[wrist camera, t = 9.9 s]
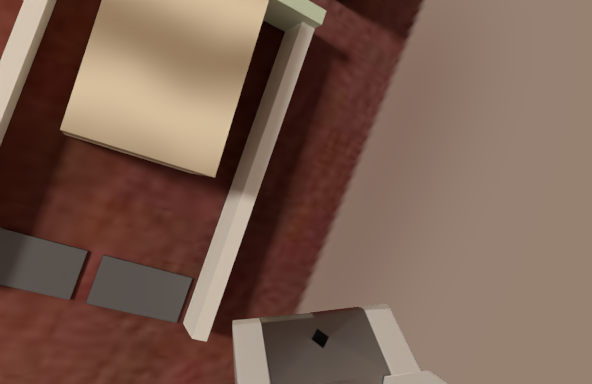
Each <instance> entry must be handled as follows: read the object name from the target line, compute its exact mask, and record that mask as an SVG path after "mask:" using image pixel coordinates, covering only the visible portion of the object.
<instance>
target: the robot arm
mask: <svg viewBox="0 0 592 384" xmlns="http://www.w3.org/2000/svg"><path fill="white" fill-rule="evenodd" d="M232 330H233V352H234V372H235V384H448V383H447V382H445V381H444V380H442V379H441V378H440V377H438V376H437V375H435V374H434V373H432V372H431V371H430V370H427V371H421V369H420V367H419V365H418V363H417V361H416V359H415V357H414V355H413V353H412V351H411V349H410V347H409V345H408V343H407V341H406V339H405V337H404V335H403V333H402V331H401V329H400V327H399V325H398V323H397V321H396V319H395V317H394V315H393V313H392V311H391V309H390V307H389V306H388V305H386V304H378V305H370V306H362V307H353V308H344V309H336V310H328V311H320V312H312V313H306V314H294V315H282V316H271V317H260V319H259V318H254V319H242V320H233V322H232Z"/></svg>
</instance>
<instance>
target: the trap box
mask: <svg viewBox="0 0 592 384" xmlns="http://www.w3.org/2000/svg"><path fill="white" fill-rule="evenodd" d="M56 1H57V0H24V2H23V5H22V7H21V10H20V12H19V15H18V17H17V20H16V22H15V25H14V27H13V30H12V33H11V35H10V38H9V40H8V43H7V45H6V48H5V50H4V53H3V55H2V58H1V61H0V146H1V143H2V140H3V138H4V135H5V133H6V130H7V127H8V125H9V122H10V120H11V117H12V115H13V112H14V109H15V107H16V104H17V102H18V99H19V97H20V94H21V91H22V89H23V86H24V84H25V81H26V78H27V76H28V73H29V71H30V68H31V66H32V63H33V60H34V58H35V55H36V53H37V50H38V47H39V45H40V42H41V40H42V37H43V35H44V32H45V29H46V27H47V24H48V22H49V19H50V17H51V14H52V11H53V9H54V6H55V4H56ZM325 13H326V10H324V9H322V8H321V7H319V6H317V5H315V4H314V3H312V2H310V1H309V0H269V2H268V5H267V8H266V12H265V15H264V18H263V21H265V22H267V23H269V24H271V25H273V26H275V27H277V28H278V29H280V30H282V31H284V32H285V33H284V36H283V39H282V42H281V45H280V47H279V50H278V53H277V56H276V59H275V62H274V65H273V67H272V70H271V73H270V76H269V79H268V82H267V85H266V87H265V90H264V93H263V96H262V99H261V102H260V105H259V107H258V110H257V113H256V116H255V119H254V122H253V125H252V127H251V130H250V133H249V136H248V139H247V142H246V145H245V147H244V150H243V153H242V156H241V159H240V162H239V165H238V167H237V170H236V173H235V176H234V179H233V182H232V185H231V187H230V190H229V193H228V196H227V199H226V202H225V205H224V207H223V210H222V213H221V216H220V219H219V222H218V225H217V227H216V230H215V233H214V236H213V239H212V242H211V245H210V247H209V250H208V253H207V256H206V259H205V262H204V265H203V267H202V270H201V273H200V276H199V279H198V282H197V285H196V287H195V290H194V293H193V296H192V299H191V302H190V305H189V307H188V310H187V313H186V316H185V319H184V322H183V324H184V326H185V328H186V329H187V331H188V333H189V334H190V336H191V338H192V339H196V340H201V341H206V342H207V339H208V336H209V333H210V330H211V328H212V325H213V322H214V319H215V316H216V313H217V310H218V307H219V304H220V302H221V299H222V296H223V293H224V290H225V287H226V284H227V281H228V278H229V275H230V273H231V270H232V267H233V264H234V261H235V258H236V255H237V252H238V249H239V247H240V244H241V241H242V238H243V235H244V232H245V229H246V226H247V223H248V220H249V218H250V215H251V212H252V209H253V206H254V203H255V200H256V197H257V194H258V192H259V189H260V186H261V183H262V180H263V177H264V174H265V171H266V168H267V165H268V163H269V160H270V157H271V154H272V151H273V148H274V145H275V142H276V139H277V137H278V134H279V131H280V128H281V125H282V122H283V119H284V116H285V113H286V110H287V108H288V105H289V102H290V99H291V96H292V93H293V90H294V87H295V84H296V81H297V79H298V76H299V73H300V70H301V67H302V64H303V61H304V58H305V55H306V53H307V50H308V47H309V44H310V41H311V38H312V35H313V32H314V29H315V28H316V27H318V26H320V25H322V22H323V19H324V16H325ZM86 254H87V250H84V249H80V248H76V247H72V246H68V245H64V244H61V243H57V242H53V241H49V240H45V239H41V238H38V237H34V236H30V235H26V234H22V233H18V232H14V231H11V230H7V229H3V228H0V285H4V286H8V287H13V288H17V289H22V290H27V291H31V292H36V293H41V294H45V295H50V296H55V297H59V298H64V299H68V300H70V298H71V295H72V292H73V289H74V287H75V284H76V281H77V279H78V276H79V273H80V270H81V268H82V265H83V262H84V260H85V257H86ZM191 280H192V278H191V277H187V276H184V275H180V274H176V273H172V272H168V271H164V270H160V269H157V268H153V267H149V266H145V265H141V264H137V263H134V262H130V261H126V260H122V259H118V258H114V257H111V256H107V255H103V258H102V261H101V263H100V266H99V269H98V272H97V274H96V277H95V280H94V282H93V285H92V288H91V291H90V293H89V296H88V299H87V302H86V303H87V304H92V305H96V306H101V307H105V308H110V309H115V310H119V311H124V312H129V313H133V314H138V315H143V316H147V317H152V318H156V319H161V320H166V321H170V322H175V323H177V320H178V317H179V315H180V312H181V309H182V306H183V303H184V300H185V297H186V295H187V292H188V289H189V286H190V283H191Z"/></svg>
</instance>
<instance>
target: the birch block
mask: <svg viewBox="0 0 592 384" xmlns="http://www.w3.org/2000/svg"><path fill="white" fill-rule="evenodd" d="M268 2H269V0H102V1H101V4H100V7H99V11H98V14H97V17H96V20H95V23H94V26H93V29H92V32H91V35H90V38H89V41H88V44H87V48H86V51H85V54H84V57H83V60H82V63H81V66H80V69H79V72H78V75H77V78H76V82H75V85H74V88H73V91H72V94H71V97H70V100H69V103H68V106H67V109H66V112H65V115H64V119H63V122H62V125H61V128H60V130H61V131H62V132H63V133H64V135H67V136H71V137H74V138H77V139H80V140H84V141H87V142H90V143H93V144H97V145H100V146H103V147H106V148H110V149H113V150H116V151H119V152H123V153H126V154H129V155H132V156H136V157H139V158H142V159H145V160H149V161H152V162H155V163H159V164H162V165H165V166H168V167H172V168H175V169H178V170H181V171H185V172H188V173H192V174H198V175H203V176H209V177H214V178H215V176H216V172H217V169H218V166H219V162H220V159H221V156H222V153H223V149H224V146H225V143H226V140H227V136H228V133H229V130H230V126H231V123H232V120H233V117H234V113H235V110H236V107H237V103H238V100H239V97H240V94H241V90H242V87H243V84H244V81H245V77H246V74H247V71H248V67H249V64H250V61H251V58H252V54H253V51H254V48H255V44H256V41H257V38H258V35H259V31H260V28H261V25H262V22H263V18H264V15H265V12H266V8H267V5H268Z"/></svg>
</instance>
